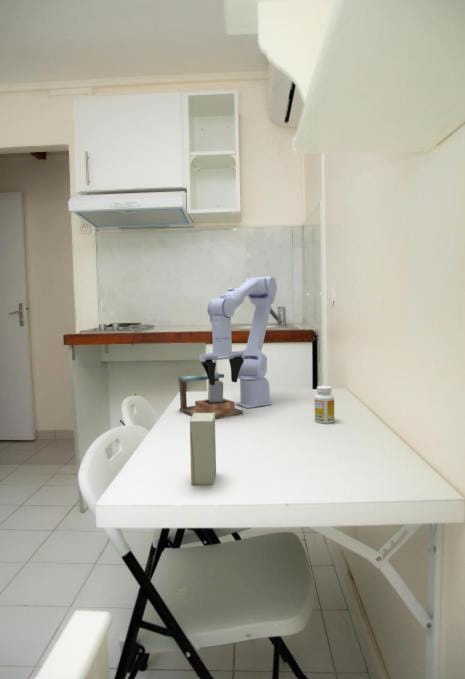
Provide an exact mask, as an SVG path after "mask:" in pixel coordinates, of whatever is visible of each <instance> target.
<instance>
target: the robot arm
mask: <svg viewBox="0 0 465 679" xmlns="http://www.w3.org/2000/svg"><path fill="white" fill-rule="evenodd" d="M277 289H278V286H277V282H276V279H275V277H274V276H273V275H268V276H256V277H255V276H254V277H250V276H249V277H246V278H245V279H244V280H243V283H242V284H241V285H240V286H239V287H238V288H235V287H230V288H228V289H227V290H228V291H226V292H225V293H222V294H220V296H219V297H218V298H213V299H210V300H211V301H209V302H208V304H207V308H206V309H207V315H208V316H209V322H210V323H211V333H212V334H211V335H212V337H211V338H212V352H211V353H204V354H199V356H198V357H199V359H198V360H199V362H201V365H202V367H203V369H204V371H205V374H207V376H208V381H209V384H210V385H215V373H216V365H217V363H216V362H214V361H218V360H219V361H221V360H228V361H229V365H230V377H231V378H230V380H231V382H232V383H238V379H239V384H240V385H239V386H240V387H239V388H240V390H239V392H240V402H235V405H237V406H240V407H244V408H246V409H250V408H252V409H253V408H258V407H262V406H269V405H272V402H271V397H270V395H271V394H270V393H271V391H270V390H271V389H270V382H269V380H268V379H267V377H266V374H267V371H268V358H267V356H266V355H265V353H264V352H262V349H263V346H264V343H265V342H264V341H265V336H266V331H267V326H268V324H269V323H268V321H269V318H270V313H271V308H272V304H274V302H275V299H276V294H277ZM246 297H247V298H248V299H249V301H250V303H251V304H252V305H254V306H255V310H254V313H253V317H252V321H251V324H250V325H251V326H250V330H249V334H248V339H247V343H246V348H244V349H243V350H238V351H236V350H235V351H233V349H232V348H233V346H232V345H233V343H232V317H233V316H234V314H235V311H236V309H238V308H239V307H240V306H242V304H244V302H245V298H246Z"/></svg>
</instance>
